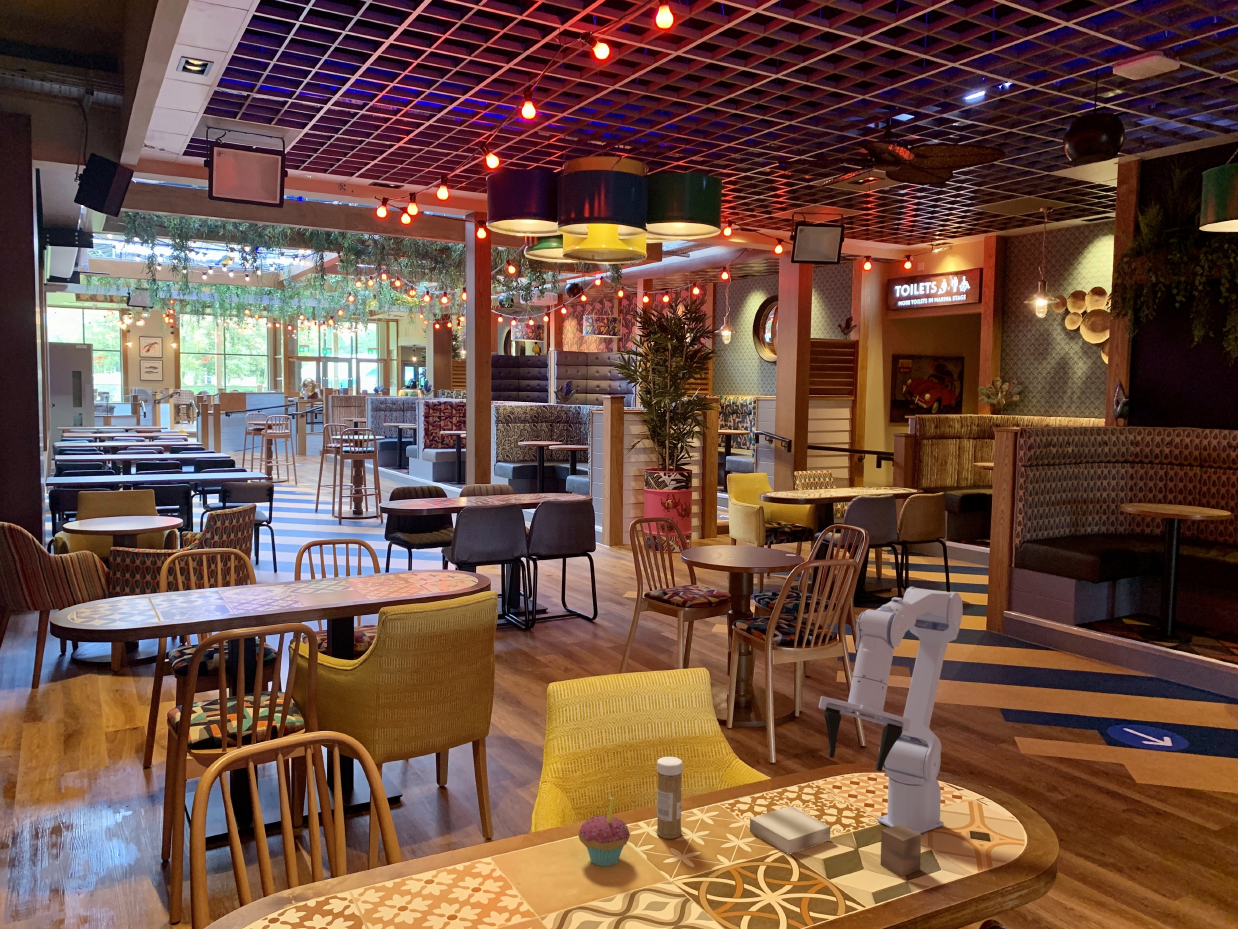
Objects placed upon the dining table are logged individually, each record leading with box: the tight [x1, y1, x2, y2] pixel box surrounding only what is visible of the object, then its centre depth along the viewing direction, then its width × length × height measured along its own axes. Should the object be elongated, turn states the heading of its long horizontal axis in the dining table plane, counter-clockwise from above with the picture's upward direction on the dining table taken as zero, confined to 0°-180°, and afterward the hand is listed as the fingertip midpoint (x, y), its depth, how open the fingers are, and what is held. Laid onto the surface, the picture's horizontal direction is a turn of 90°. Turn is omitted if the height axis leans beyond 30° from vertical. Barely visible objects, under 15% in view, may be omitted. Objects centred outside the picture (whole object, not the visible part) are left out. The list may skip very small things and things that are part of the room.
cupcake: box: [578, 793, 631, 867], centre depth 152 cm, size 9×8×12 cm
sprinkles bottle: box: [656, 756, 684, 840], centre depth 162 cm, size 5×5×13 cm
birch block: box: [749, 805, 831, 855], centre depth 162 cm, size 10×10×3 cm
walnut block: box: [880, 824, 922, 877], centre depth 151 cm, size 4×4×6 cm
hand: (854, 764), depth 147 cm, fingers open, 7 cm apart
